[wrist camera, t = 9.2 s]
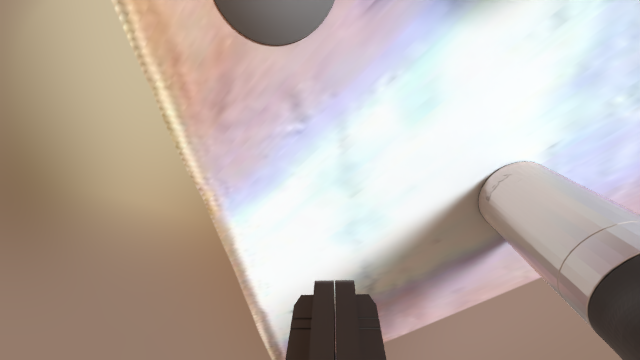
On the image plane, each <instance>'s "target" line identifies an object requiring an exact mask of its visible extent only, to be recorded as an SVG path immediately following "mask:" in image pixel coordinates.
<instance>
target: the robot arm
mask: <svg viewBox="0 0 640 360" xmlns="http://www.w3.org/2000/svg"><path fill="white" fill-rule="evenodd" d="M478 201H479V209H480V212H481V214H482V216H483V217H484V219H485V220H486V221H487V222H488V223H489V224H490V225H491V226H492V227H493V228H494V229H495V230H496V231H497V232H498V233H499V234H500V235H501V236H502V237H503V238H504V239H505V240H506V241H507V242H508V243H509V244H510V245H511V246H512V247H513V248H514V249H515V250H516V251H517V252H518V253H519V254H520V255H521V256H522V257H523V258H524V260H525V261H526V262H527V263H528V264H529V265H530V266H531V267H532V268H533V269H534V270H535V271H536V272H537V273H538V274H539V275H540V276H541V277H542V278H543V279H544V280H545V281H546V282H547V283H548V284H549V285H550V286H551V287H552V288H553V289H554V290H555V291H556V292H557V293H558V294H559V295H560V296H561V297H562V298H563V299H564V300H565V301H566V302H567V303H568V304H569V305H570V306H571V307H572V308H573V309H574V310H575V311H576V312H577V313H578V314H579V315H580V316H581V317H582V318H583V319H584V320H585V321H586V322H587V324H588V325H589V326H590V327H591V328H593V330H594V331H595V332H596V333H597V334H598V335H599V336H600V337H601V338H602V339H603V340H604V341H605V342H606V343H607V344H608V345H609V346H610V347H611V348H612V349H613V350H614V351H615V352H616V353H617V354H618V355H619V356H620V357H621V358H622V359H623V360H640V214H638V213H636V212H634V211H632V210H630V209H628V208H626V207H624V206H622V205H620V204H618V203H616V202H614V201H612V200H610V199H608V198H606V197H604V196H602V195H600V194H598V193H596V192H594V191H592V190H590V189H588V188H586V187H584V186H582V185H580V184H578V183H576V182H574V181H572V180H570V179H568V178H566V177H564V176H562V175H560V174H558V173H556V172H554V171H552V170H550V169H548V168H546V167H544V166H542V165H540V164H537V163H534V162H526V161H524V162H516V163H513V164H509V165H507V166H505V167H503V168H501V169H499V170H498V171H496V172H495V173H494V174H492V175H491V177H490V178H489V179H488V180H487V181H486V182H485V184H484V185H483V187H482V189H481V192H480V195H479V200H478ZM335 299H336V351H335V303H334V281H315V285H314V295H301V296H300V298H299V299H298V301H297V302H296V304H295V305H294V310H293V316H292V322H291V330H290V335H289V341H288V348H287V354H286V360H386V356H385V351H384V345H383V339H382V334H381V330H380V323H379V319H378V312H377V307H376V304H375V303H374V301H373V300H372V298H371V297H370V296H369V294H359V295H355V285H354V280H335Z"/></svg>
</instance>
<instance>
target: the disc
mask: <svg viewBox="0 0 640 360" xmlns="http://www.w3.org/2000/svg"><path fill="white" fill-rule="evenodd" d="M215 2H216V4H217V6H218V8H219V9H220V11H221V13H222V14H223V15H224V17H225V18H226V19H227V21H228V22H229V23H230V24H231V25H232V26H233V27H234V28H235V29H237V30H238V31H239V32H240V33H242V34H243V35H245V36H246V37H248V38H250V39H252V40H254V41H257V42H260V43H264V44H269V45H284V44H289V43H293V42H296V41H299V40H301V39H303V38H305V37H306V36H308V35H309V34H311V33H312V32H313V31H314V30H316V29H317V28H318V26H319V25H320V24H321V23H322V22H323V21H324V19H325V18H326V17H327V15H328V13H329V11H330V9H331V8H332V5H333V3H334V0H215Z"/></svg>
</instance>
